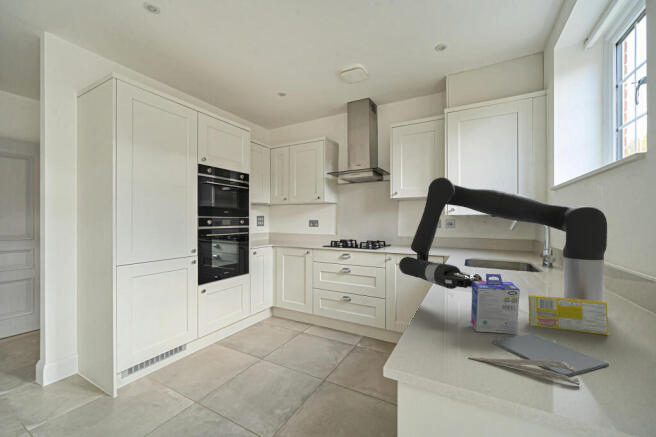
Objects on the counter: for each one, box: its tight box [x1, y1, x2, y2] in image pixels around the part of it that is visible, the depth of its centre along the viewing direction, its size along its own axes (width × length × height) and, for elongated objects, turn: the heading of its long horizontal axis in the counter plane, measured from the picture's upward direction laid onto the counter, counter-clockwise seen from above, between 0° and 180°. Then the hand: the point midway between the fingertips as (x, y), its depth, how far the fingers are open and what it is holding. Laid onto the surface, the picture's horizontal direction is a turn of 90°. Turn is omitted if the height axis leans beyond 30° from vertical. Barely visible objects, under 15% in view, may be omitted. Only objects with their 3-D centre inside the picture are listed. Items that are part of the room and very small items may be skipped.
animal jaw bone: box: [468, 356, 581, 386], centre depth 53 cm, size 17×5×2 cm, turn 60°
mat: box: [491, 332, 609, 377], centre depth 59 cm, size 13×15×1 cm
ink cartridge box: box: [470, 273, 521, 335], centre depth 71 cm, size 10×6×14 cm, turn 78°
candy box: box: [528, 294, 610, 336], centre depth 72 cm, size 16×2×8 cm, turn 65°
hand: (487, 286), depth 73 cm, fingers closed
